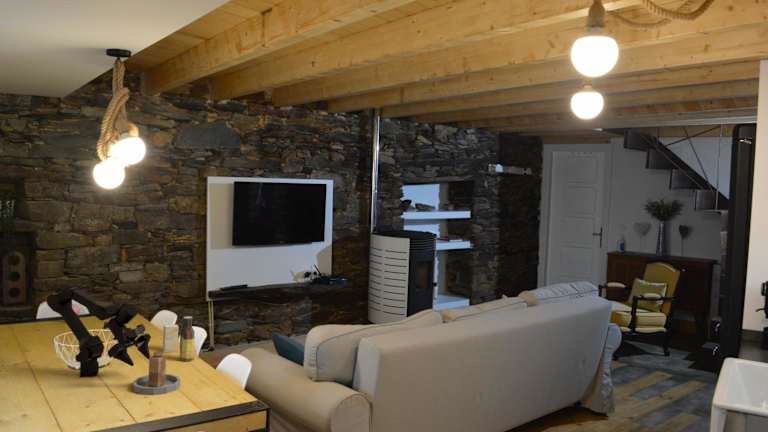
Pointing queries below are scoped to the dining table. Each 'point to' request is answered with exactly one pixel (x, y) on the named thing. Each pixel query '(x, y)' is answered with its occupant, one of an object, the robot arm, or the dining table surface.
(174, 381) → the slate dish
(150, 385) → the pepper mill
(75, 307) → the cupcake
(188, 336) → the sauce bottle
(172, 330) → the skincare box
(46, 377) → the dining table surface
